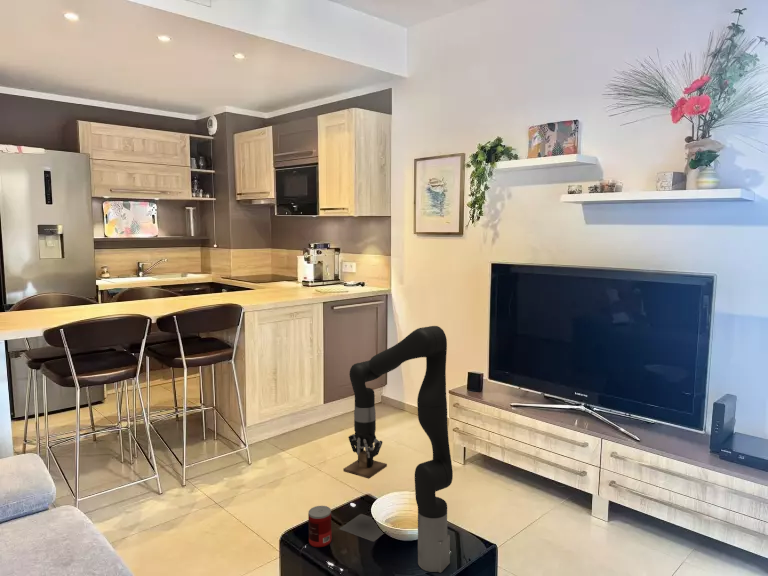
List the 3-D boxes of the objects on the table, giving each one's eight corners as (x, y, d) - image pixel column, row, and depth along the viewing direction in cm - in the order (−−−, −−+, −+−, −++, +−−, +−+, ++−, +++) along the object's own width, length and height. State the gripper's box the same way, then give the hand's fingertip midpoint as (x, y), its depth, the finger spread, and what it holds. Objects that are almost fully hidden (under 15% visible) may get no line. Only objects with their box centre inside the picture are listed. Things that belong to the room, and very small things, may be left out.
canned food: (333, 536, 186) (333, 505, 185) (329, 549, 178) (328, 517, 177) (312, 535, 187) (311, 504, 186) (306, 548, 179) (305, 516, 178)
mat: (394, 526, 192) (394, 525, 192) (373, 542, 181) (373, 541, 181) (360, 514, 200) (360, 513, 200) (339, 530, 190) (339, 528, 190)
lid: (386, 466, 190) (386, 450, 190) (368, 478, 181) (368, 461, 181) (362, 459, 196) (361, 444, 196) (343, 471, 187) (342, 455, 187)
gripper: (387, 418, 187) (387, 466, 188) (355, 412, 195) (356, 458, 196) (375, 424, 181) (375, 474, 182) (342, 417, 188) (343, 465, 190)
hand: (365, 465), depth 189 cm, fingers closed on lid, 3 cm apart
